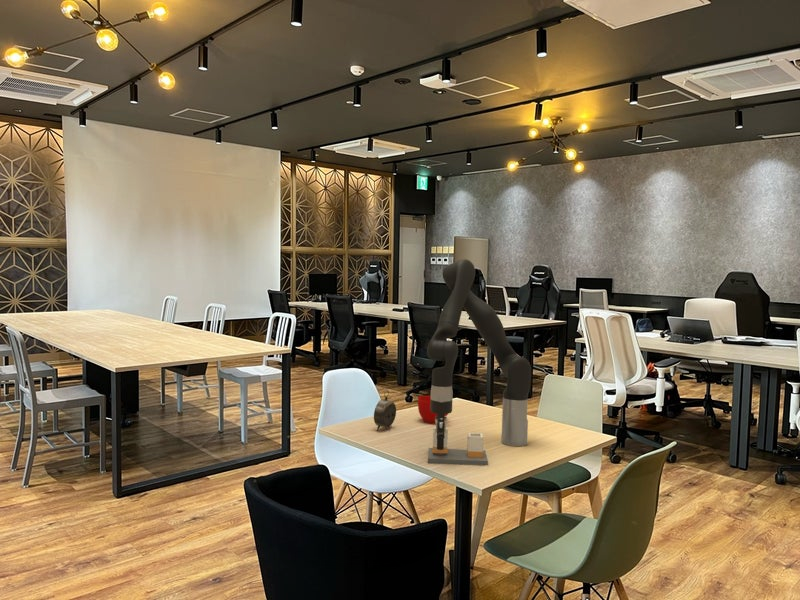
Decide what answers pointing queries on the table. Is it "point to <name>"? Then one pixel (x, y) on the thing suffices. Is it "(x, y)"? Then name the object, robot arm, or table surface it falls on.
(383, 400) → the alarm clock
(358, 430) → the table surface
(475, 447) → the pin board
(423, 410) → the ceramic cup
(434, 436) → the sleeve
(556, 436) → the table surface
